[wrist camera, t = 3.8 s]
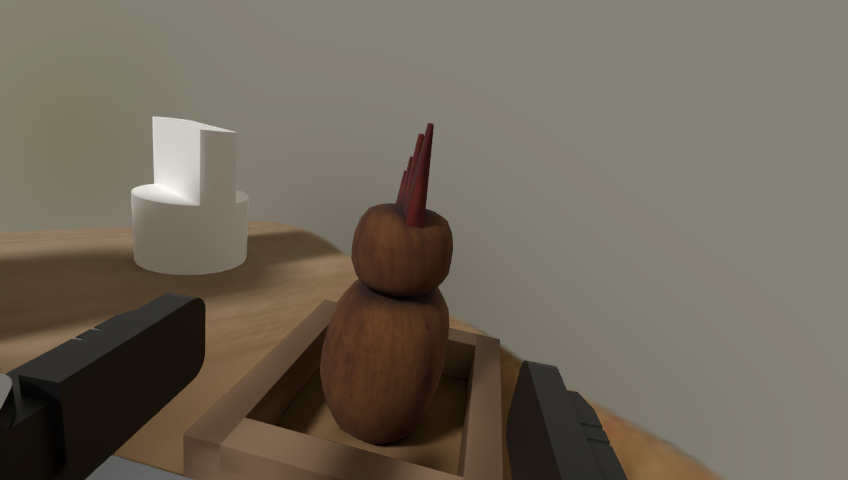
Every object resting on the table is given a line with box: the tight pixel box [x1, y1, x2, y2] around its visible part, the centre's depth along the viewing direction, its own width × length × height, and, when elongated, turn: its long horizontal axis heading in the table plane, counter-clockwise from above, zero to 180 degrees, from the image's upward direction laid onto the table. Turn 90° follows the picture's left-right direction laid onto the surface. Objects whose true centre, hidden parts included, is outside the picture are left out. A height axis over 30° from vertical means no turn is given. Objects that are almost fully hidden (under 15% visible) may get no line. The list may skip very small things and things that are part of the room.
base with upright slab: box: [131, 116, 249, 275], centre depth 35 cm, size 9×9×12 cm
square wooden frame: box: [184, 300, 503, 480], centre depth 21 cm, size 12×13×2 cm
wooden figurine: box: [320, 123, 453, 444], centre depth 19 cm, size 7×6×15 cm
